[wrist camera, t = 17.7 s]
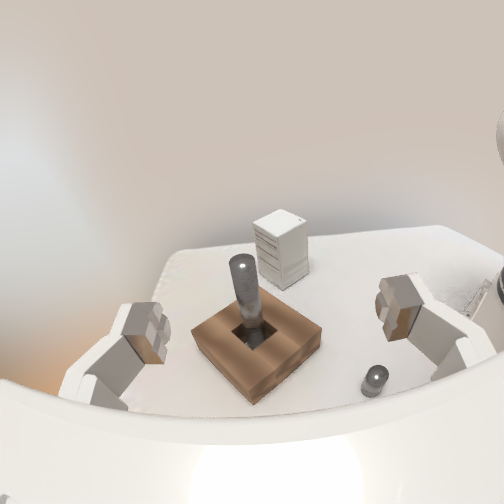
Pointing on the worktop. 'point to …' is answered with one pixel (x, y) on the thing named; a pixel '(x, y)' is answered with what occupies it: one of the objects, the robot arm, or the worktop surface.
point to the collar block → (266, 354)
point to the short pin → (374, 381)
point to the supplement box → (281, 247)
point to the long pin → (248, 298)
